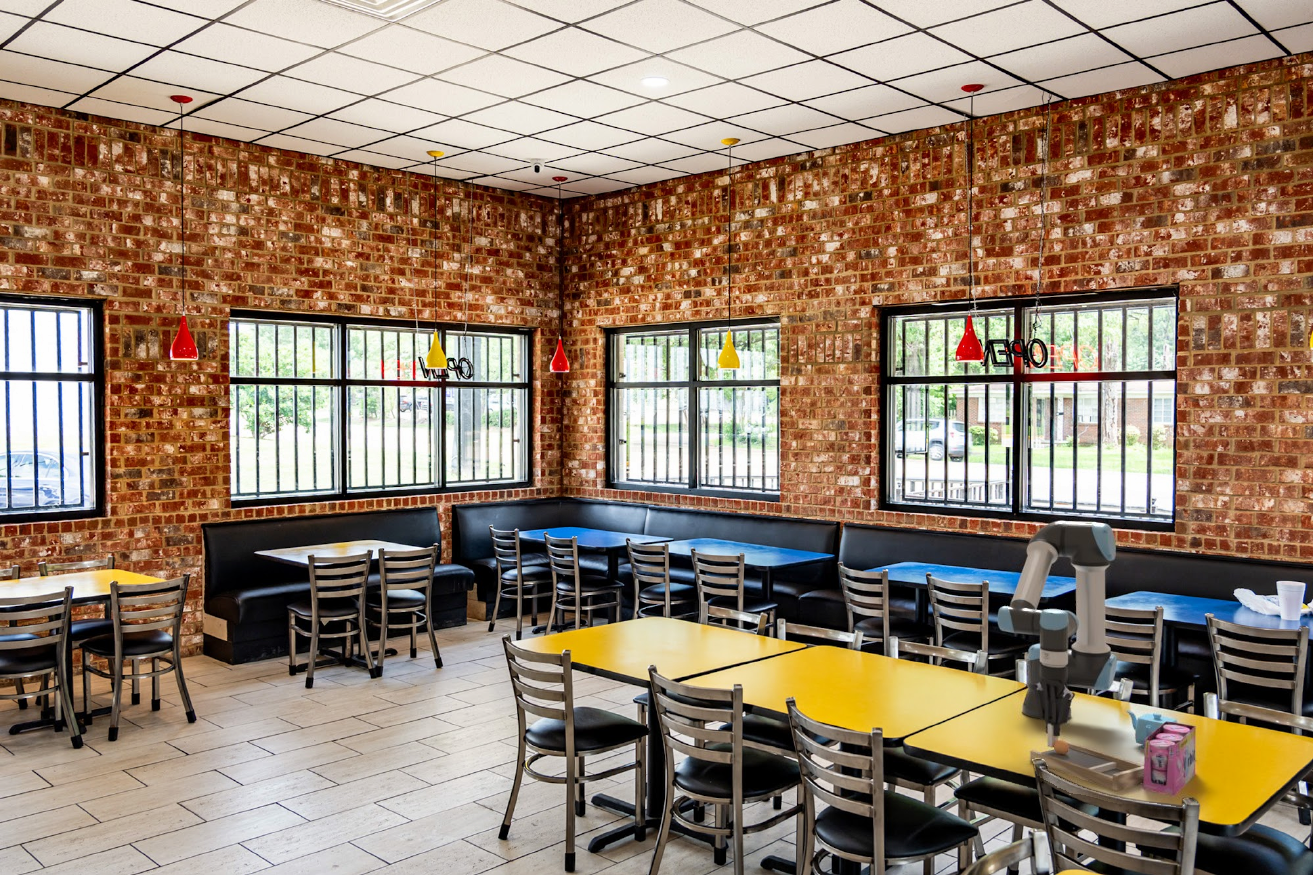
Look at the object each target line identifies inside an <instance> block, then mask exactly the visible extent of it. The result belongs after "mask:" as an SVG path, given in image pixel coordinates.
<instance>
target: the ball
mask: <svg viewBox="0 0 1313 875" xmlns="http://www.w3.org/2000/svg"><path fill="white" fill-rule="evenodd" d="M1066 742H1067V741H1065V740H1063V739H1058V741H1056V742H1055V744H1054V747H1053V750H1055V751H1056V752H1057V753H1058V754H1061V755H1064V754H1066V753H1067V752H1068V750H1069V746H1068V744H1067V743H1066Z"/></svg>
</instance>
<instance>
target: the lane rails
mask: <svg viewBox="0 0 1313 875" xmlns="http://www.w3.org/2000/svg"><path fill="white" fill-rule="evenodd" d="M1065 742H1066V743H1067V744H1068V746H1069V748H1071V749H1075V750H1078V751H1081V752H1084V753H1087V754H1090V755H1093V756H1097V757H1100V758H1103V759H1106V760H1109V761H1112V762H1115V763H1116V768H1117V769H1120V770H1124V771H1123V772H1120V773H1116V774H1113V776H1110V775H1107V774H1104V773H1101V772H1098V771H1095V770H1092V769H1089V768H1086V767H1083V766H1080V765H1077V764H1074V763H1071V762H1068V761H1065V760H1062V759H1058V758H1055V757H1052V756H1049V755H1046V754H1043V753H1041V752H1040V751H1037V750H1035V749H1033V750H1030V752H1029V753H1030V754H1029V755H1030V756H1029V757H1030V760H1029V761H1030V762H1031V761H1032V759H1035V758H1041V759H1044V760H1045V761H1046V763H1047V765H1048V767H1047V768H1049V769H1051V770H1054V771H1057V772H1061V773H1063V774H1066V775H1069V776H1072V777H1074V778H1078V779H1081V780H1084V781H1087V782H1088V783H1089V782H1090V783H1092V784H1096V785H1098V786H1101V787H1104V788H1106V789H1109V790H1112V791H1115V792H1118V791H1121V790H1125V789H1129V788H1132V787H1136V786H1138V785H1143V783H1144V764H1140V763H1137V762H1134V761H1130V760H1128V759H1124V758H1122V757H1117V756H1114V755H1111V754H1109V753H1106V752H1105V753H1104V752H1101V751H1098V750H1095V749H1092V748H1089V747H1086V746H1082V745H1080V744H1075V743H1073V742H1070V741H1065Z"/></svg>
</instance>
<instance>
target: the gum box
mask: <svg viewBox="0 0 1313 875" xmlns="http://www.w3.org/2000/svg"><path fill="white" fill-rule="evenodd" d="M1196 729H1197V728H1196V726H1195V725H1190V724H1185V723H1179V722H1177V723H1174V722H1168V721H1166V722H1164V723H1163V724H1162V725H1161V726H1160V727H1159V728H1158V729H1157V730H1155V731H1154V732H1153V733H1152V734H1151V735H1149V736H1148V737H1147V738H1146V739H1145V748H1144V762H1143V765H1144V783H1143V784H1142V787H1143V788H1142V789H1143V790H1147V791H1150V792H1155V793H1160V794H1165V795H1169V796H1172V797H1173V796H1177V794H1179V792H1180V791H1181V790H1182V789H1183V788H1184V787H1185V786H1186V785H1187V783H1189V781H1190V780H1191V779H1192V778H1193V777H1194V776H1195V775H1196Z"/></svg>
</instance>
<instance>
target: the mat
mask: <svg viewBox="0 0 1313 875" xmlns="http://www.w3.org/2000/svg"><path fill="white" fill-rule="evenodd" d="M1040 753H1043V754H1046V755H1049V756H1052V757H1055V758H1058V759H1062V760H1065V761H1068V762H1071V763H1074V764H1077V765H1080V766H1083V767H1086V768H1089V769H1092V770H1095V771H1098V772H1101V773H1104V774H1107V775H1110V776H1113V774H1116V773H1120V772H1123V771H1124V770H1120V769H1117V768H1116V763H1115V762H1112V761H1109V760H1106V759H1103V758H1100V757H1097V756H1093V755H1090V754H1087V753H1084V752H1081V751H1078V750H1075V749H1071V748H1069V750H1068V752H1067V753H1066V754H1064V755H1061V754H1058V753H1057V752H1056V751H1055V750H1054V749H1050V750H1046V751H1042V752H1040Z"/></svg>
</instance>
